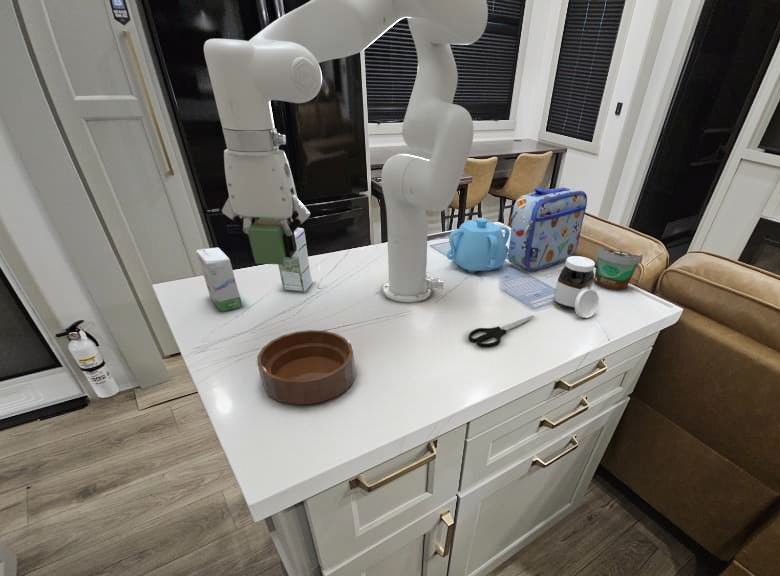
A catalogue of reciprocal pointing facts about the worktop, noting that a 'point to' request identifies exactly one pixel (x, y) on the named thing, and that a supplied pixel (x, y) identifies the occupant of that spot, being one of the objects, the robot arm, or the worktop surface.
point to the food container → (615, 268)
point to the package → (267, 241)
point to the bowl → (306, 366)
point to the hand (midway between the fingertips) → (275, 253)
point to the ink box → (219, 278)
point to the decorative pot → (478, 245)
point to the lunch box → (546, 227)
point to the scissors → (494, 333)
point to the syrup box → (297, 266)
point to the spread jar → (577, 287)
